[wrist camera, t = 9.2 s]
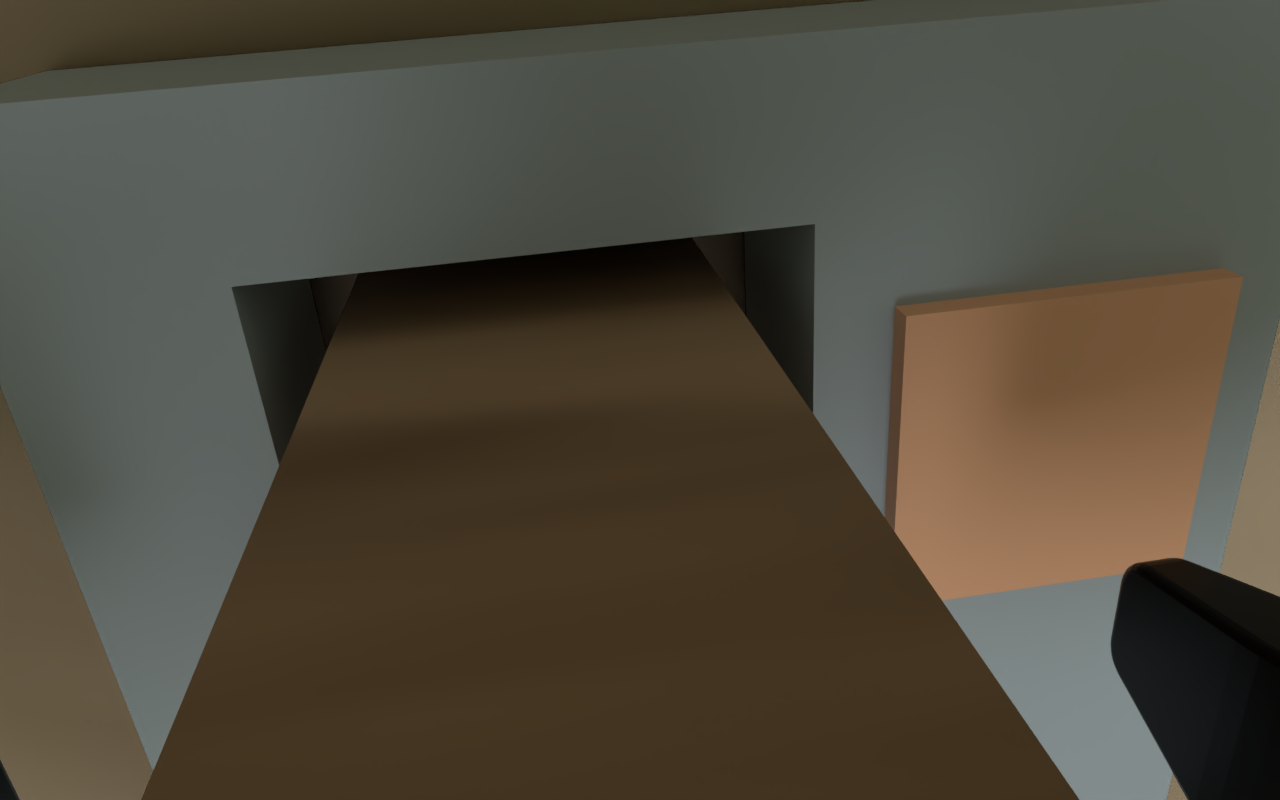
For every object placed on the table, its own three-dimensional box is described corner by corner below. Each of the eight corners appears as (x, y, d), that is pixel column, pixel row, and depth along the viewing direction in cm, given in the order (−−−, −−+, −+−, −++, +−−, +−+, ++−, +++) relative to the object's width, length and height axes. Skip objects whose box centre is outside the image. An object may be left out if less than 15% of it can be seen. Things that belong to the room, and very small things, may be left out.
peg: (696, 491, 14) (1064, 1463, 5) (420, 529, 14) (281, 1651, 5) (682, 223, 12) (1198, 975, 3) (364, 259, 12) (-31, 1219, 3)
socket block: (1013, 939, 20) (1105, 1116, 17) (365, 1058, 18) (339, 1272, 15) (1159, -25, 12) (1384, -16, 9) (46, 70, 10) (-129, 118, 8)
